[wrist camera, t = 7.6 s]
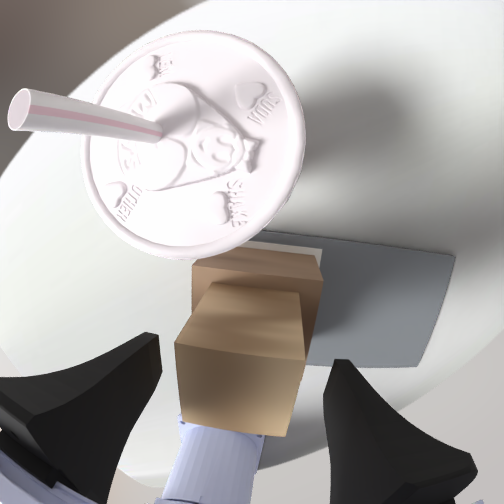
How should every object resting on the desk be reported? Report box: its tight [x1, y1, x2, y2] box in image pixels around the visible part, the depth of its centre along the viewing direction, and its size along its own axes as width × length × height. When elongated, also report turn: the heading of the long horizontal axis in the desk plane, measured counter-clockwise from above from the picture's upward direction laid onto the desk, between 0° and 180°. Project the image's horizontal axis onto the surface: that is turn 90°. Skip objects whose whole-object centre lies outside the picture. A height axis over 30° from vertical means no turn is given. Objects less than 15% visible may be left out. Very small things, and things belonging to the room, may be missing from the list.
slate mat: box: [237, 230, 455, 368], centre depth 17 cm, size 9×16×1 cm, turn 85°
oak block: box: [174, 283, 305, 437], centre depth 11 cm, size 4×4×5 cm
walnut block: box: [192, 247, 324, 380], centre depth 15 cm, size 6×6×4 cm
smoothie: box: [8, 30, 306, 260], centre depth 9 cm, size 6×6×14 cm
